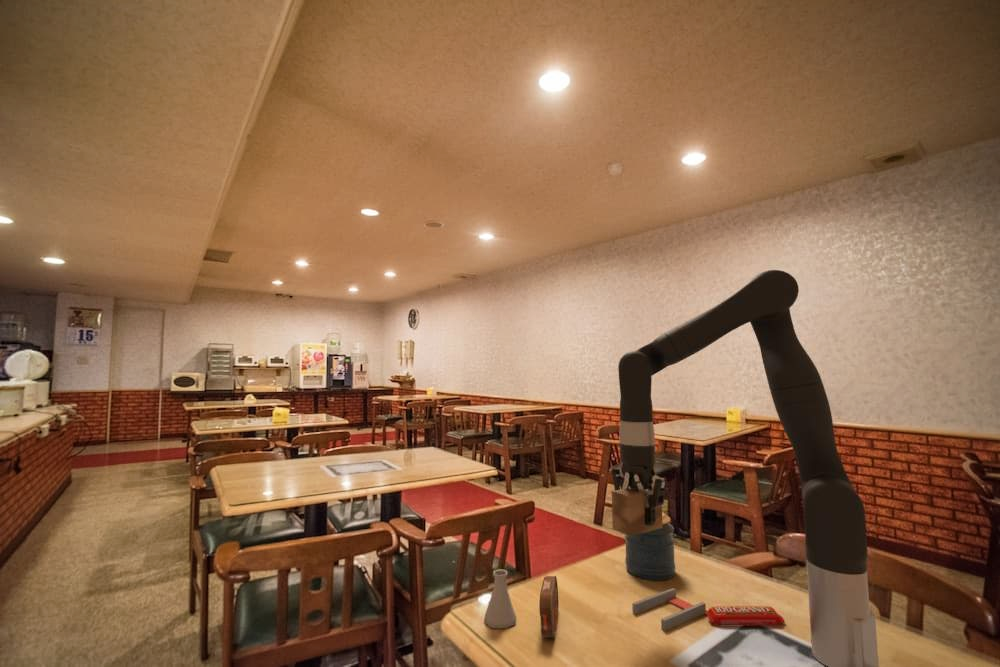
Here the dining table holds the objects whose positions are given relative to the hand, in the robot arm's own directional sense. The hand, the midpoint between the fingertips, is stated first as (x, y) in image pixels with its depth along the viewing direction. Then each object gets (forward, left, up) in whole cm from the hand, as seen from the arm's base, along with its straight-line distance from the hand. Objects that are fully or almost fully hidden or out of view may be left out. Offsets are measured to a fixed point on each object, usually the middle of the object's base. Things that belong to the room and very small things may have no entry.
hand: (639, 520), depth 97 cm
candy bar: (-11, -20, -22) cm, 31 cm away
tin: (+10, +17, -22) cm, 29 cm away
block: (0, +1, -1) cm, 2 cm away
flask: (+17, +25, -22) cm, 37 cm away
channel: (0, -9, -21) cm, 23 cm away
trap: (0, -14, -21) cm, 26 cm away
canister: (+17, -23, -22) cm, 36 cm away
